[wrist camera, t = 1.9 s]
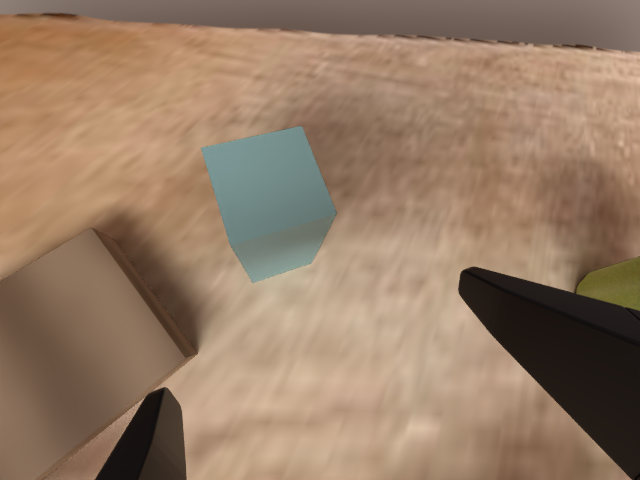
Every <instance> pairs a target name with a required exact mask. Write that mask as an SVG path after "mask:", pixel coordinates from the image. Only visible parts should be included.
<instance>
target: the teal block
mask: <svg viewBox="0 0 640 480" xmlns="http://www.w3.org/2000/svg"><path fill="white" fill-rule="evenodd" d="M201 149H202V152H203V156H204V159H205V163H206V166H207V169H208V173H209V176H210V179H211V183H212V186H213V189H214V193H215V196H216V199H217V203H218V206H219V209H220V213H221V216H222V219H223V223H224V226H225V229H226V233H227V236H228V239H229V243H230V246H231V248H232V249H233V251H234V252H235V254H236V256H237V257H238V259H239V261H240V262H241V264H242V266H243V267H244V269H245V271H246V272H247V274H248V276H249V277H250V279H251V281H252V282H253V283H254V282H257V281H260V280H263V279H266V278H269V277H272V276H275V275H278V274H281V273H284V272H287V271H290V270H293V269H296V268H299V267H302V266H305V265H308V264H311V263H312V261H313V259H314V257H315V255H316V253H317V252H318V250H319V248H320V246H321V244H322V242H323V240H324V238H325V236H326V234H327V232H328V230H329V228H330V226H331V224H332V222H333V220H334V218H335V216H336V214H337V212H336V210H335V207H334V205H333V202H332V200H331V197H330V195H329V192H328V190H327V187H326V185H325V182H324V180H323V177H322V175H321V172H320V170H319V167H318V165H317V162H316V160H315V157H314V155H313V152H312V150H311V148H310V145H309V143H308V140H307V138H306V135H305V133H304V130H303V128H302V126H298V127H294V128H289V129H285V130H280V131H276V132H271V133H267V134H262V135H257V136H253V137H248V138H244V139H239V140H235V141H230V142H226V143H221V144H217V145H212V146H207V147H203V148H201Z"/></svg>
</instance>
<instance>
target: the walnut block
mask: <svg viewBox="0 0 640 480" xmlns="http://www.w3.org/2000/svg"><path fill="white" fill-rule="evenodd" d="M196 355H197V352H196V351H195V350H194V348H193V347H192V345H191V344H190V343H189V341H188V340H187V339H186V337H185V336H184V334H183V333H182V332H181V330H180V329H179V328H178V326H177V325H176V324H175V322H174V321H173V319H172V318H171V317H170V315H169V314H168V313H167V311H166V310H165V308H164V307H163V306H162V304H161V303H160V302H159V300H158V299H157V298H156V296H155V295H154V293H153V292H152V291H151V289H150V288H149V287H148V285H147V284H146V282H145V281H144V280H143V278H142V277H141V276H140V274H139V273H138V272H137V270H136V269H135V267H134V266H133V265H132V263H131V262H130V261H129V259H128V258H127V256H126V255H125V254H124V252H123V251H122V250H121V248H120V247H119V245H118V244H117V243H116V241H115V240H114V239H112V238H110V237H108V236H107V235H105V234H103V233H101V232H99V231H97V230H95V229H93V228H89V229H88V230H86V231H84V232H83V233H81V234H79V235H78V236H76V237H74V238H73V239H71V240H69V241H68V242H66V243H64V244H63V245H61V246H59V247H57V248H56V249H54V250H52V251H51V252H49V253H47V254H46V255H44V256H42V257H41V258H39V259H37V260H36V261H34V262H32V263H31V264H29V265H27V266H26V267H24V268H22V269H20V270H19V271H17V272H15V273H14V274H12V275H10V276H9V277H7V278H5V279H4V280H2V281H0V480H43V479H44V478H45V477H47V476H48V475H49V474H50V473H52V472H53V471H54V470H55V469H56V468H58V467H59V466H60V465H61V464H63V463H64V462H65V461H66V460H68V459H69V458H70V457H71V456H72V455H74V454H75V453H76V452H77V451H79V450H80V449H81V448H82V447H84V446H85V445H86V444H87V443H89V442H90V441H91V440H92V439H93V438H95V437H96V436H97V435H98V434H100V433H101V432H102V431H103V430H105V429H106V428H107V427H108V426H109V425H111V424H112V423H113V422H114V421H116V420H117V419H118V418H119V417H121V416H122V415H123V414H124V413H126V412H127V411H128V410H129V409H130V408H132V407H133V406H134V405H135V404H137V403H138V402H139V401H140V400H142V399H143V398H144V397H145V396H146V395H148V394H149V393H150V392H151V391H153V390H154V389H155V388H156V387H158V386H159V385H160V384H161V383H163V382H164V381H165V380H166V379H167V378H169V377H170V376H171V375H172V374H174V373H175V372H176V371H177V370H179V369H180V368H181V367H182V366H183V365H185V364H186V363H187V362H188V361H190V360H191V359H192V358H193V357H195V356H196Z"/></svg>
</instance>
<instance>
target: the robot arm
mask: <svg viewBox="0 0 640 480" xmlns="http://www.w3.org/2000/svg"><path fill="white" fill-rule="evenodd" d="M458 291H459V294H460V296H461V298H462V299H463V300H464V301H465V303H466V304H467V305H468V306H469V308H470V309H471V310H472V311H473V313H474V314H475V315H476V316H477V317H478V319H479V320H480V321H481V322H482V324H483V325H484V326H485V327H486V329H487V330H488V331H489V332H490V333H491V335H492V336H493V337H494V338H495V339H496V340H497V341H498V342H499V343H500V344H501V345H502V346H503V347H504V348H505V349H506V350H507V351H508V352H509V353H510V355H511V356H512V357H513V358H514V359H515V360H516V361H517V362H518V363H519V364H520V365H521V366H522V367H523V368H524V369H525V370H526V371H527V372H528V373H529V374H530V375H531V376H532V377H533V378H534V379H535V380H536V381H537V382H538V383H539V384H540V385H541V386H542V388H543V389H544V390H545V391H546V392H547V393H548V394H549V395H550V396H551V397H552V398H553V399H554V400H555V401H556V402H557V403H558V404H559V405H560V406H561V407H562V408H563V409H564V410H565V411H566V412H567V413H568V414H569V415H570V416H571V417H572V418H573V419H574V420H575V422H576V423H577V424H578V425H579V426H580V427H581V428H582V429H583V430H584V431H585V432H586V433H587V434H588V435H589V436H590V437H591V438H592V439H593V440H594V441H595V442H596V443H597V444H598V445H599V446H600V447H601V448H602V449H603V450H604V451H605V452H606V453H607V455H608V456H609V457H610V458H611V459H612V460H613V461H614V462H615V463H616V464H617V465H618V466H619V467H620V468H621V469H622V470H623V471H624V472H625V473H626V474H627V475H628V476H629V477H630V478H631V479H632V480H640V310H636V309H632V308H628V307H623V306H621V305H617V304H613V303H609V302H606V301H602V300H598V299H594V298H591V297H587V296H583V295H580V294H576V293H572V292H568V291H565V290H561V289H557V288H553V287H550V286H546V285H542V284H538V283H535V282H531V281H527V280H523V279H520V278H516V277H512V276H508V275H505V274H501V273H497V272H493V271H490V270H486V269H482V268H478V267H470V268H467V269H465V270H463V271H462V272H461V274H460V280H459V288H458ZM95 480H186V461H185V447H184V433H183V419H182V410H181V406H180V404H179V403H178V401H177V400H176V398H175V397H174V396H173V394H172V393H171V392H170V390H169V389H168V388H166V387H164V388H161V389H158V390H155V391H153V392H151V393H149V394H148V395H147V396H146V397H145V399H144V400H143V402H142V404H141V405H140V407H139V409H138V410H137V412H136V413H135V415H134V417H133V418H132V420H131V422H130V423H129V425H128V427H127V428H126V430H125V431H124V433H123V435H122V436H121V438H120V440H119V441H118V443H117V444H116V446H115V448H114V449H113V451H112V453H111V454H110V456H109V457H108V459H107V461H106V462H105V464H104V466H103V467H102V469H101V470H100V472H99V474H98V475H97V477H96V479H95Z"/></svg>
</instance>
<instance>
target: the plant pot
mask: <svg viewBox="0 0 640 480" xmlns="http://www.w3.org/2000/svg"><path fill="white" fill-rule="evenodd" d="M576 294H580V295H583V296H587V297H591V298H594V299H598V300H602V301H606V302H609V303H613V304H617V305H621V306H623V307H628V308H632V309H636V310H640V256H639V257H636V258H633V259H630V260H627V261H624V262H620V263H617V264H614V265H611V266H608V267H604V268H601V269H598V270H595V271H592V272H590V273H588V274H587V275H586V277H585V278H584V279H583V280H582V281H581V282H580V283H579V284H578V286H577V291H576Z"/></svg>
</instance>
